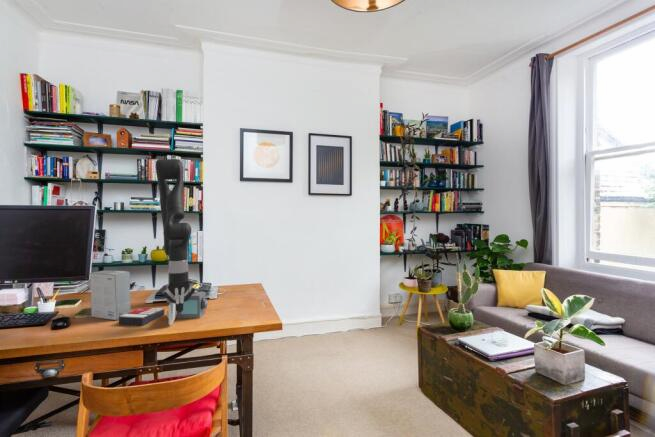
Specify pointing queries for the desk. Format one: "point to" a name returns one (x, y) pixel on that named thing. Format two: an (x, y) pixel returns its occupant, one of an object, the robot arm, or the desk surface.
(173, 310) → the side door
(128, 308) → the hard drive box
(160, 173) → the robot arm
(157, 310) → the calculator
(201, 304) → the camera body
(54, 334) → the desk surface
